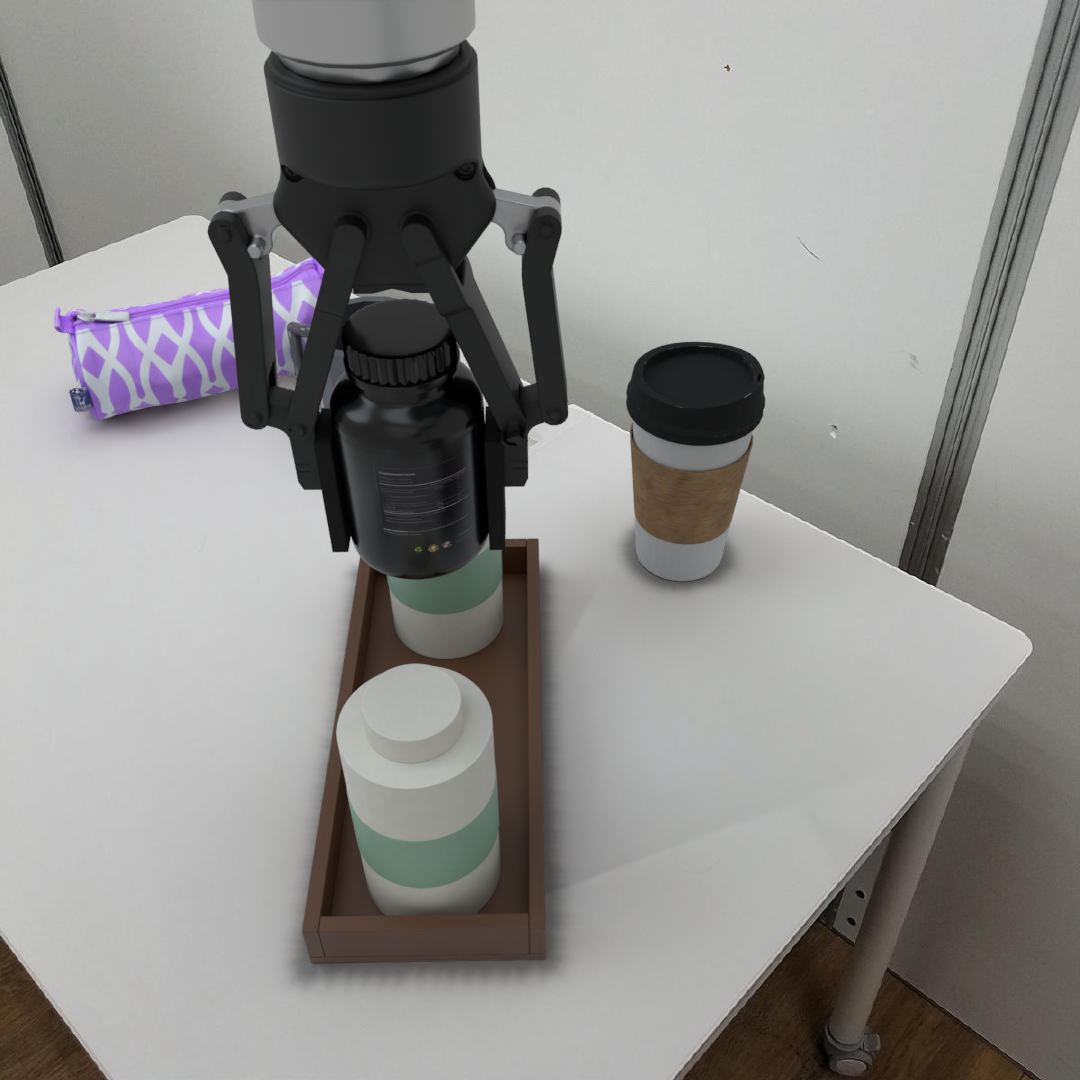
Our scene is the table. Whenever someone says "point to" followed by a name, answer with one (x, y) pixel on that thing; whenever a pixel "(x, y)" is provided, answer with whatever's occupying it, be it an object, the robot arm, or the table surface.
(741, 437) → the coffee cup
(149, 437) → the table surface
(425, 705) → the white bottle near
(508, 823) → the tray
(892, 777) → the table surface
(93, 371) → the pencil case
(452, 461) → the supplement bottle
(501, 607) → the white bottle far
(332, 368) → the grey mug
